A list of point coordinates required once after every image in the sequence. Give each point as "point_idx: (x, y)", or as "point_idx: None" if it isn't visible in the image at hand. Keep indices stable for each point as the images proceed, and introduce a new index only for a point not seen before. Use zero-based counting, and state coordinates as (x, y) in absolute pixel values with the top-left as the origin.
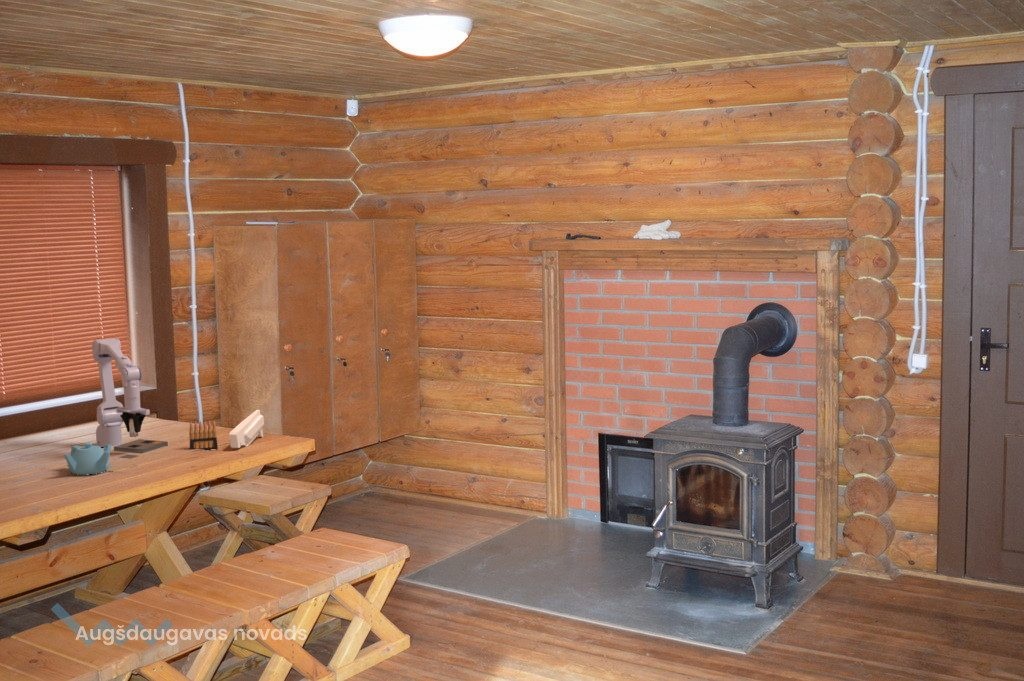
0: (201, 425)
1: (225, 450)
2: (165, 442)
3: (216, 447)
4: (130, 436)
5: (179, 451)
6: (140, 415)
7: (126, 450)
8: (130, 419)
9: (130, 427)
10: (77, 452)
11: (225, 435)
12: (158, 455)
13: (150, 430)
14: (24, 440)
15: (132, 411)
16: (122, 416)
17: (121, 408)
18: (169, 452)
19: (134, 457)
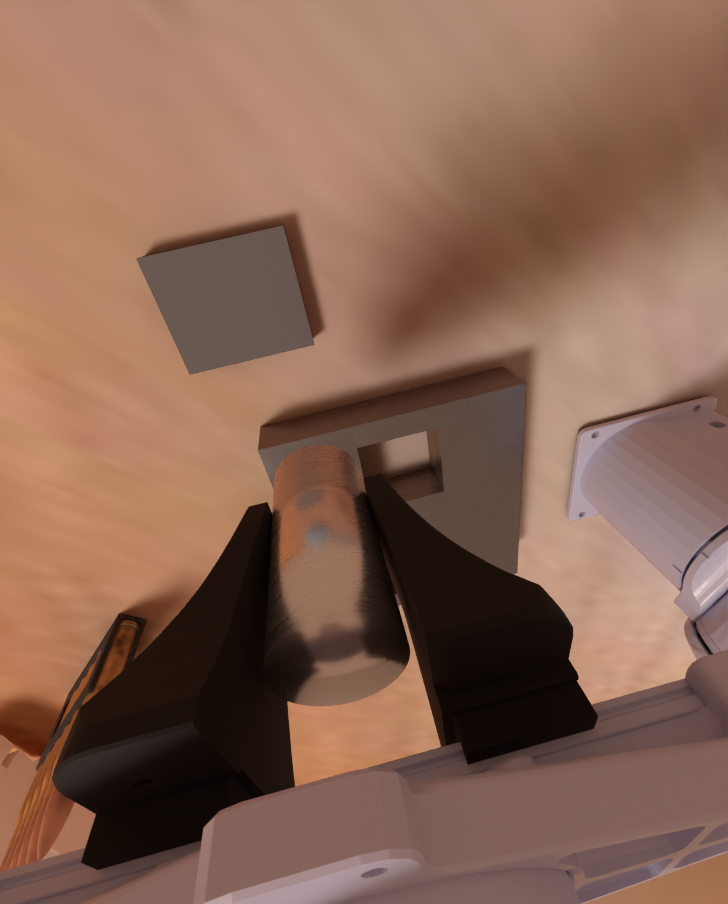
0: (24, 842)
1: (19, 706)
2: None
3: (64, 704)
4: (318, 446)
5: (185, 591)
6: (101, 802)
7: (405, 403)
8: (312, 621)
9: (316, 515)
10: None
11: (314, 762)
12: (178, 484)
13: (628, 664)
14: None
15: (159, 893)
16: (485, 604)
17: (699, 827)
18: (207, 554)
19: (159, 307)
